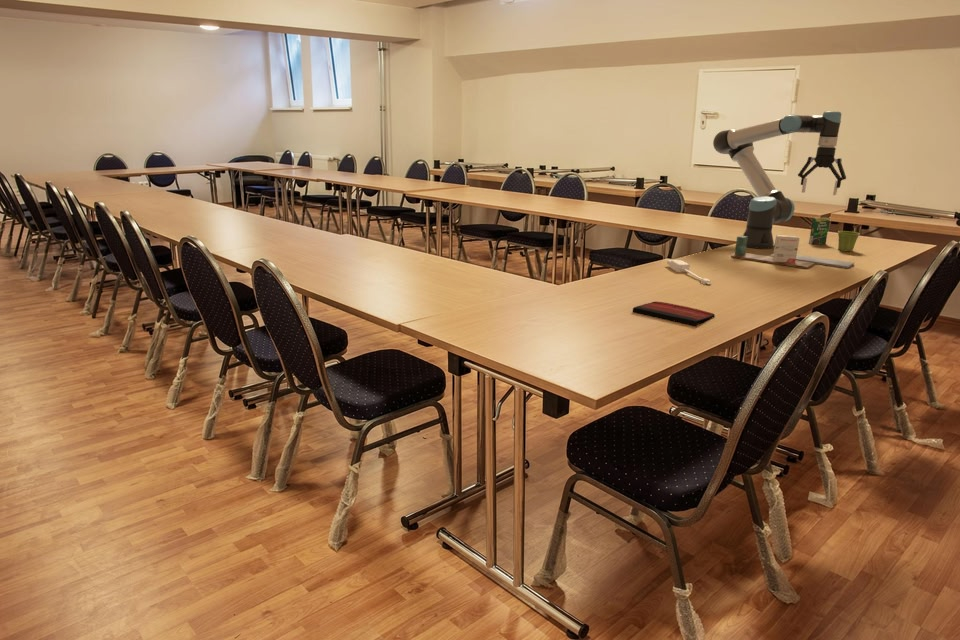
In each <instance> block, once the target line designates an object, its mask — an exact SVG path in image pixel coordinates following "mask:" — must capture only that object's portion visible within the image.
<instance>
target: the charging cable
mask: <svg viewBox="0 0 960 640" xmlns="http://www.w3.org/2000/svg"><path fill="white" fill-rule="evenodd" d="M666 264H667V265H668V266H669V267H670V268H669V269H671V270H672V271H675V272H676V273H687V274H690V275H692V276H693V277H694V278H697V280H700V283H701V284H702V285H712V281H711V280H710V279H708V278H702V277H701V276H699V275H697V274H695V273H694V272H692V271H691V270H690V267H691V265H690V263H688V262H686V261H683V260H681V259H680V260H679V259H667V261H666Z"/></svg>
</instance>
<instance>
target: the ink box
mask: <svg viewBox="0 0 960 640" xmlns="http://www.w3.org/2000/svg"><path fill="white" fill-rule="evenodd" d="M775 239H776V241H774V245H775V247H774V246H773V252H774V253H773V252H772V254H773V259H772V260H773V261H775V262H791V263H795V261H796V255H798V248H799V244H800V237H799V236H797V235H786V234H785V235H783V234H776V236H775Z"/></svg>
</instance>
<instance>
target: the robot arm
mask: <svg viewBox="0 0 960 640" xmlns="http://www.w3.org/2000/svg"><path fill="white" fill-rule="evenodd" d="M822 113H823V114H822V115H809V114H808V115H807V114H806V115H805V114H804V115H800V114H789V115H786V116H784V117H782V118H778V119H775V120H770V121H766V122H763V123H758V124H754V125H752V126H751V125H750V126H748V127H744V128H740V129H736V128H735V129H734V128H730V129H728V130H726V129H725V130H722V131H719V132H718V133H717V134H715V136H714V138H713V143H712V144H713V148H714V150H715V151H716V152H717V153H719V154H723V155H728V156H729V157H730V159H731V160H732V162H735V163H737V164H738V166H739V167H740V169H741V171H742V173H743V175H744V176H745V178H746V179H747V181H748V182H749V184H750V185H751V187H752V189H753V190H754V192H755V194H756V195H757V196H756V197H752V198H751V199H750V201H749V206H748V213H747V218H746V219H747V220H746V228H745V230H744V233H743V234H742V236H748V239H747V246H746V248H752V249H753V248H754V249H772V248H773V249H774V245H775V241H774V237H773V226H774V225H773V224H777V223H778V224H779V223H784V222H787V221H789V220H790V219H791V218H792V216H794V213H795V208H796V207H795V203H794V202H793V200H792V199H790V198H788V197H785V195H784V194H783V192H782V190H777V189H776V187H775V186H774V184H773V182H772V181H771V179H770V177H769V176H768V174H767V172H766V170H764V168H763V166H762V165H761V163H760V161H759V159H758V158H757V157H756V155H755V153H754V150H755V147H754V143H756V142H759V141H764V140H768V139H772V138H776V137H780V136H784V135H785V136H786V135H789V134H794V133H803V134H804V133H817V134H819V137H818V142H817V145H818V147H817V150H816V154H815V155H816V156H815V157H814V156H809V157H808V158H807V161H806V163H805V164H804V165H803V167H802V168H801V170H800V171H799V173H797V176H798V177H799V178H801V181H800V185H801V186H802V187H801V188H802V189H801V193H806V188H807V182H808V178H807V177H808V175H810V174H811V173H812V172H814V171H815V169H817V168H823V169H824V168H825V169H827V168H828V169H829V170H830V171H831V172H832V174H833V176H834V178H836V180H835V182H834V187H833V192H832V193H833V194H832V196H836V195H837V193H838V189H839V188H841V184H842V181H845V180H847V175H846V173H845V169H844V167H843V164H842V157H841V158H840V157H839V158H835V155H836V150H837V148H836V146H837V142H838V138H839V131H840V126H841V123H842V121H841V120H842V112H840V111H834V110H833V111H832V110H831V111H829V110H827V111H823V112H822ZM813 161H814V162H815V164H813V165H812V166H811V167H810V168H809V166H810V165H811V163H812V162H813ZM834 162H835V164H837V167H838V171H839V172H838V171H837V169H836V168H835V166H834V165H833V164H834ZM808 168H809V169H808ZM807 169H808V170H807ZM806 170H807V171H806Z"/></svg>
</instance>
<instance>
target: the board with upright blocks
mask: <svg viewBox="0 0 960 640" xmlns="http://www.w3.org/2000/svg"><path fill="white" fill-rule="evenodd" d="M747 239H748V236H743V235H739V236H736V243H735V250H734V254H731V255H730V258H734V259H741V260H746V261H755V262H761V263H767V264H774V265H780V266H787V267H794V268H801V269H809V268H812V267H813V266H815V265H816V264H815V263H812V262H805V261H798V260H796V261H795V263H791V262H775V261H773V260H772V259H773V257H771V256H770V255H762V254H756V253H748V252H747V251H746V250H747V247H746V246H747Z"/></svg>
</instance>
